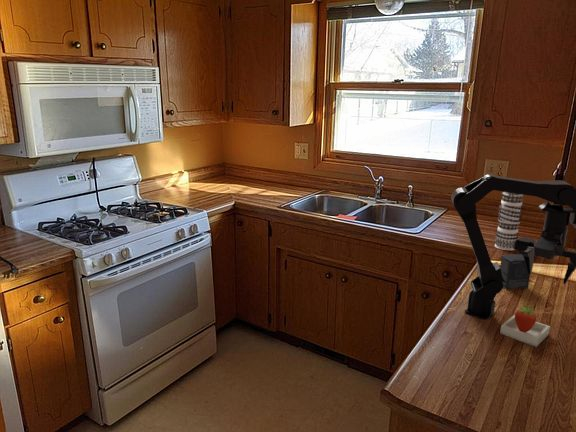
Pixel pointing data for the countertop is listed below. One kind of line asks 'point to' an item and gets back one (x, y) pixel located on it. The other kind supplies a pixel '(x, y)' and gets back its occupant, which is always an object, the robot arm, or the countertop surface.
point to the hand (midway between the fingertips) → (546, 278)
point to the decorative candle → (508, 220)
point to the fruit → (525, 318)
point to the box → (514, 271)
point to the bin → (529, 337)
